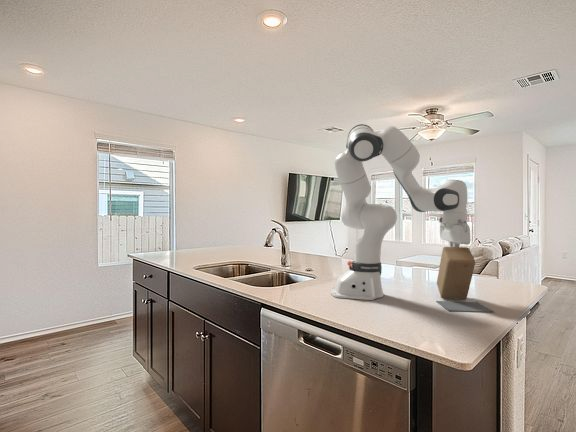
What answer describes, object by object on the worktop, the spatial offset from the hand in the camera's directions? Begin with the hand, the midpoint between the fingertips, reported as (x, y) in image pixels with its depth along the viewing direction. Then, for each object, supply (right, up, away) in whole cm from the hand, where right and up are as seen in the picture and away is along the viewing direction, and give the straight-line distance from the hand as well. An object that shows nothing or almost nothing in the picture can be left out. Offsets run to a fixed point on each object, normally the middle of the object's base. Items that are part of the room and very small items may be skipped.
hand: (454, 252), depth 137 cm
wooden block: (0, -17, +2) cm, 17 cm away
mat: (-2, -19, -11) cm, 22 cm away
